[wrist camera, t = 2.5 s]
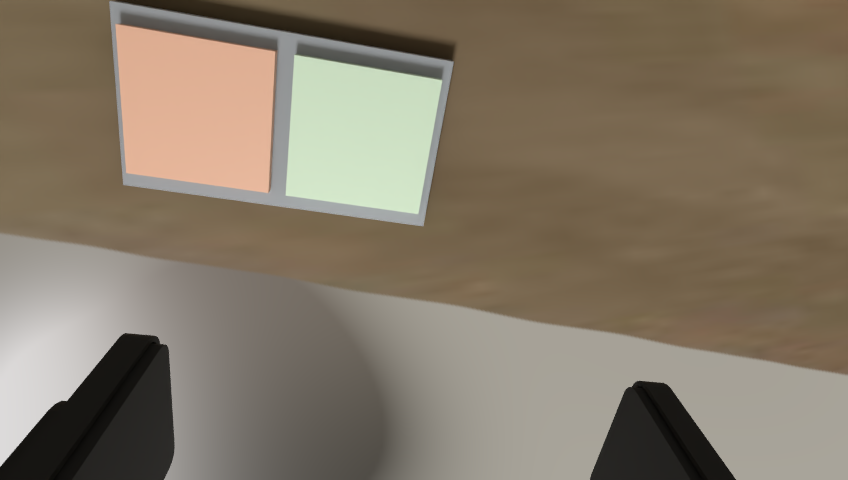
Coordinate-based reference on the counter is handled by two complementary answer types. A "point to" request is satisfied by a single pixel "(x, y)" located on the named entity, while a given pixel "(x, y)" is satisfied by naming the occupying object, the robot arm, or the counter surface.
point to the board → (275, 115)
